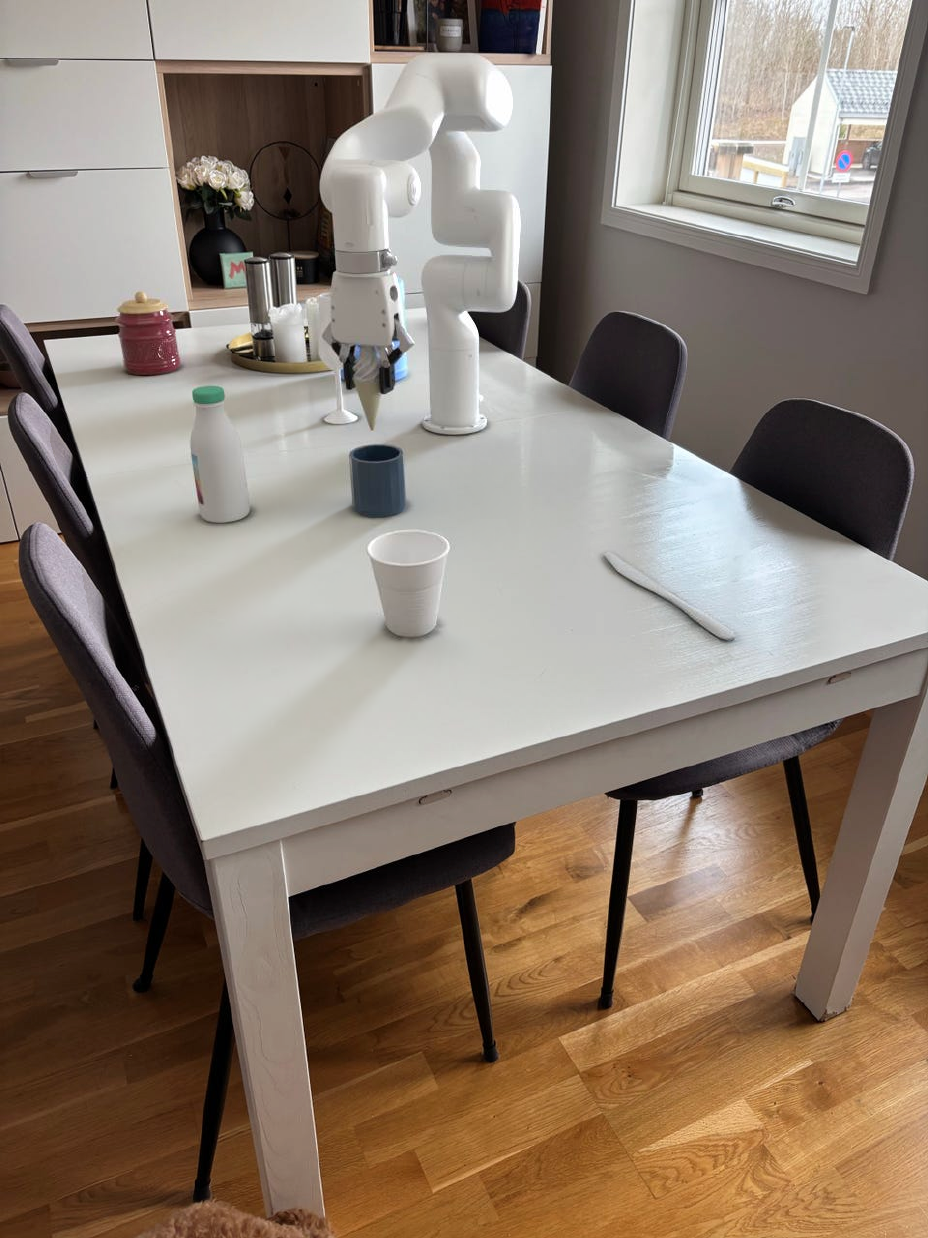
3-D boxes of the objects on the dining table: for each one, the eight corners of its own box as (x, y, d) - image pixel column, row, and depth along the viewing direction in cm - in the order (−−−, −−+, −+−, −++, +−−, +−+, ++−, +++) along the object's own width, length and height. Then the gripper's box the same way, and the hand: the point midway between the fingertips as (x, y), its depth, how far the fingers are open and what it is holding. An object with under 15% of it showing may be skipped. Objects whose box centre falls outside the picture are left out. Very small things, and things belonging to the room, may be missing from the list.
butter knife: (719, 640, 114) (739, 633, 115) (596, 555, 135) (613, 550, 136) (718, 644, 114) (738, 637, 115) (596, 559, 136) (613, 553, 137)
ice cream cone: (383, 436, 144) (378, 334, 136) (351, 434, 145) (344, 333, 137) (392, 425, 148) (387, 326, 140) (361, 423, 149) (354, 325, 141)
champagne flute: (317, 421, 190) (306, 297, 178) (334, 411, 196) (324, 290, 184) (347, 425, 188) (338, 299, 176) (363, 415, 193) (355, 292, 182)
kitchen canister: (139, 360, 233) (125, 285, 224) (189, 362, 231) (178, 286, 223) (115, 375, 222) (100, 296, 213) (168, 376, 220) (155, 297, 211)
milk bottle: (259, 507, 152) (244, 383, 142) (234, 526, 146) (216, 398, 136) (217, 502, 154) (199, 379, 145) (191, 520, 148) (170, 393, 138)
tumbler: (369, 493, 157) (365, 441, 153) (414, 501, 154) (412, 448, 150) (343, 512, 150) (339, 458, 146) (390, 520, 147) (387, 465, 143)
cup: (371, 609, 123) (366, 531, 117) (448, 605, 124) (446, 527, 118) (371, 649, 114) (366, 567, 109) (454, 644, 115) (452, 562, 109)
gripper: (428, 261, 134) (432, 389, 143) (324, 254, 140) (334, 377, 149) (404, 270, 128) (409, 403, 137) (296, 262, 134) (308, 390, 143)
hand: (370, 388), depth 143 cm, fingers closed on ice cream cone, 5 cm apart
